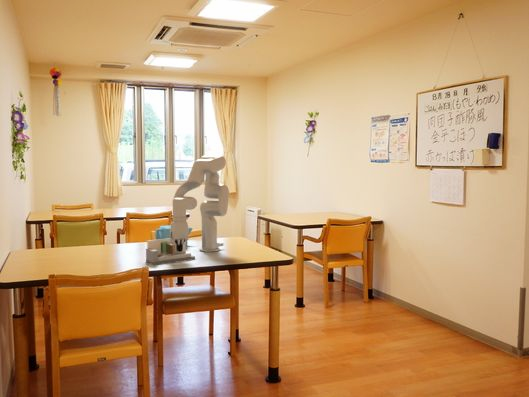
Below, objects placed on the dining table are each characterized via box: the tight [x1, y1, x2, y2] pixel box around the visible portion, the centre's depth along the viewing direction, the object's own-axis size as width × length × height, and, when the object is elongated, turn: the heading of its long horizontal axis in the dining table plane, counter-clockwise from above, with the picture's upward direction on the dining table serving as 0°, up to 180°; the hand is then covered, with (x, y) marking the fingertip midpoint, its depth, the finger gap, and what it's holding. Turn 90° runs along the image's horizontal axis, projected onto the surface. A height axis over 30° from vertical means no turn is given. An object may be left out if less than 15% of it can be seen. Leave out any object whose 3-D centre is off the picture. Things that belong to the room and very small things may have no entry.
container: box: [154, 222, 193, 248], centre depth 333 cm, size 17×25×15 cm
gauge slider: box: [158, 243, 175, 257], centre depth 284 cm, size 8×8×8 cm
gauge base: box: [145, 238, 196, 266], centre depth 286 cm, size 26×10×12 cm, turn 127°
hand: (179, 251), depth 288 cm, fingers closed
